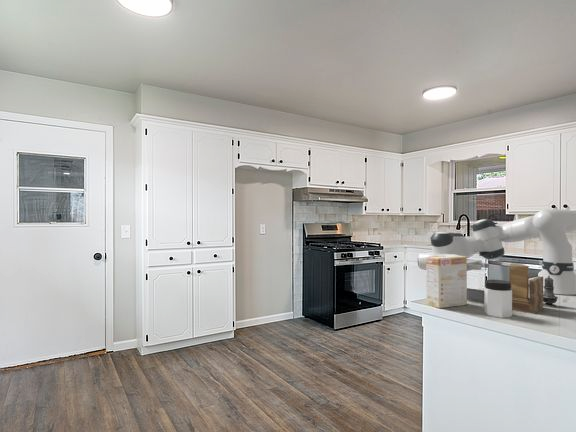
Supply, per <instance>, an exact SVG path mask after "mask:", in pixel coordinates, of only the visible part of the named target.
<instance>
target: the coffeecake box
mask: <svg viewBox="0 0 576 432" xmlns="http://www.w3.org/2000/svg"><path fill="white" fill-rule="evenodd" d="M467 259H468V258H467V257H466V256H459V255H446V256H429V257H426V265H427V269H426V270H425V271H426V305H427V306H430V307H434V308H437V309H443V308H444V309H445V308H451V307H458V306H459V307H460V306H466V305H468V301H467V300H468V299H467V288H468V283H467V280H468V276H467V275H468V274H467V272H468V271H467Z"/></svg>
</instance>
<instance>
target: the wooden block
mask: <svg viewBox="0 0 576 432" xmlns="http://www.w3.org/2000/svg"><path fill="white" fill-rule="evenodd" d="M529 268H530V267H529V265H522V264H509V275H508V276H509V282H511V290H512V298H519V299H526V300H529V280H530V276H529V275H530V273H529V272H530V269H529Z"/></svg>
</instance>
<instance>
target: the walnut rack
mask: <svg viewBox="0 0 576 432" xmlns="http://www.w3.org/2000/svg"><path fill="white" fill-rule="evenodd" d="M543 294H544V292H543V277H540V276H539V277H538V276H537V277H535V278H532V279H529V300H528V302H529V304H525V303H519V302H512V311H515V312H521V313H527V314H536V313H537V312H540V311H541V310H542V309H544V306H543V303H544V302H543Z"/></svg>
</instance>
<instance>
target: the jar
mask: <svg viewBox="0 0 576 432" xmlns="http://www.w3.org/2000/svg"><path fill="white" fill-rule="evenodd" d="M483 290H484V302H483V304H484V305H483V307H484V309H483V311H484V313H485V314H486V315H487V316H490V317H495V318H502V319H503V318H512V317H513V310H512V290H511V282H509V281H508V280H502V279H486V280H484V287H483Z"/></svg>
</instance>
